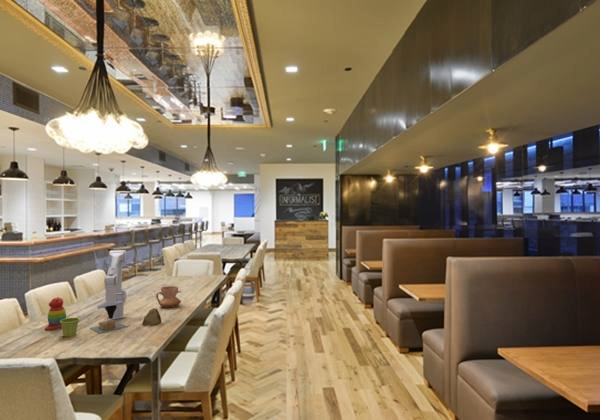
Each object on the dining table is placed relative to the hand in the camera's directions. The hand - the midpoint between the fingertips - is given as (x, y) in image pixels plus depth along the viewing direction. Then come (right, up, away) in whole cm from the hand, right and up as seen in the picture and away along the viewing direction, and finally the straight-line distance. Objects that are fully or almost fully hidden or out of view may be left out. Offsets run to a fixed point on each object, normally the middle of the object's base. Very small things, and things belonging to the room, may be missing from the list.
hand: (110, 318), depth 223 cm
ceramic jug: (+18, -6, +49) cm, 53 cm away
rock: (+21, -6, +8) cm, 24 cm away
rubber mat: (-1, -5, -1) cm, 5 cm away
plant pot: (-16, -6, -14) cm, 22 cm away
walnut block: (+1, -3, +1) cm, 3 cm away
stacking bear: (-33, -6, 0) cm, 33 cm away
